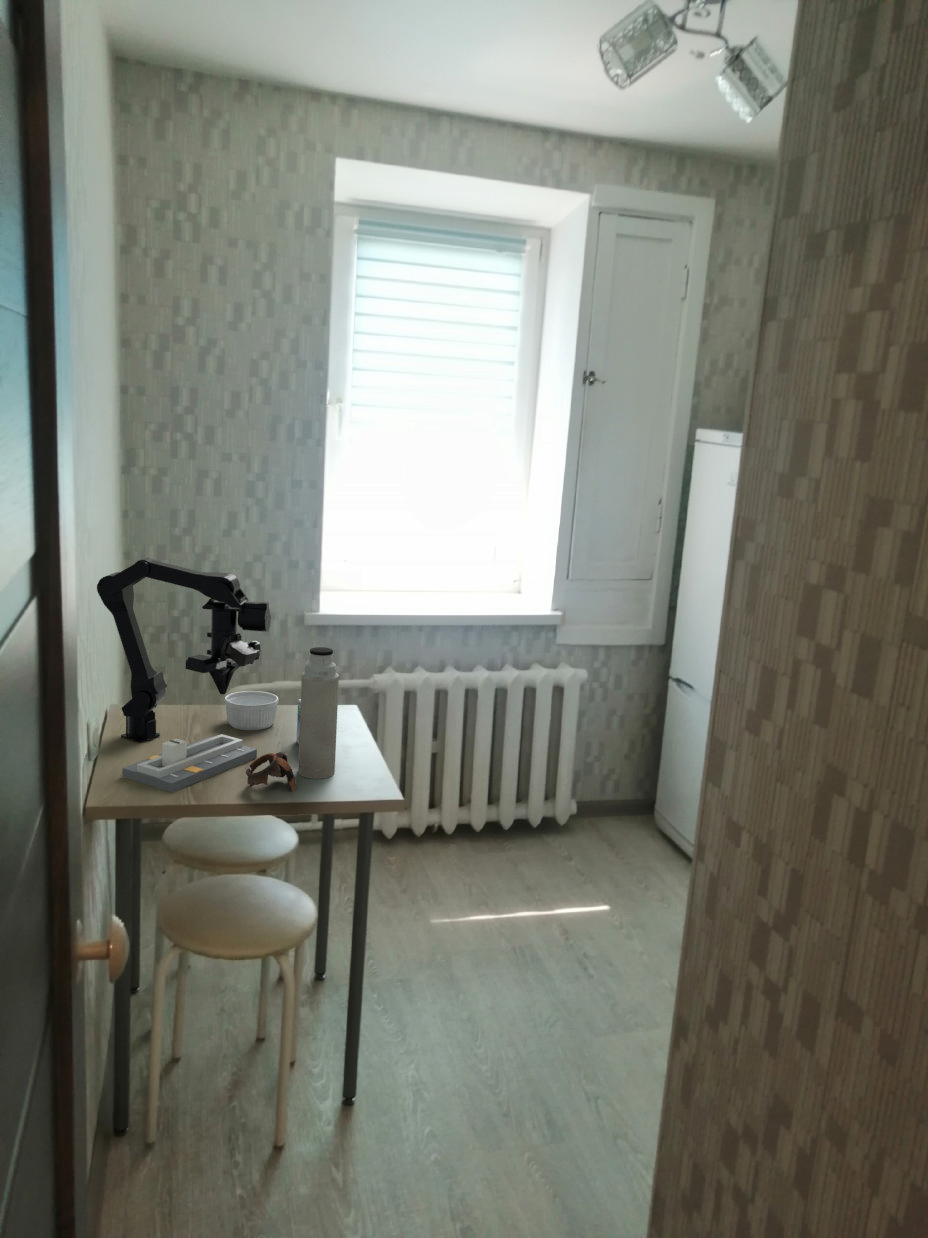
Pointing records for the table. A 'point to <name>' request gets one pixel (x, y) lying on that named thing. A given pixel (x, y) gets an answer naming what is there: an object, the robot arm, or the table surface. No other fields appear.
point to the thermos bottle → (318, 715)
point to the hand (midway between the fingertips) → (222, 693)
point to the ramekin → (251, 709)
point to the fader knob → (173, 751)
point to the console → (192, 763)
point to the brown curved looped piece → (271, 770)
